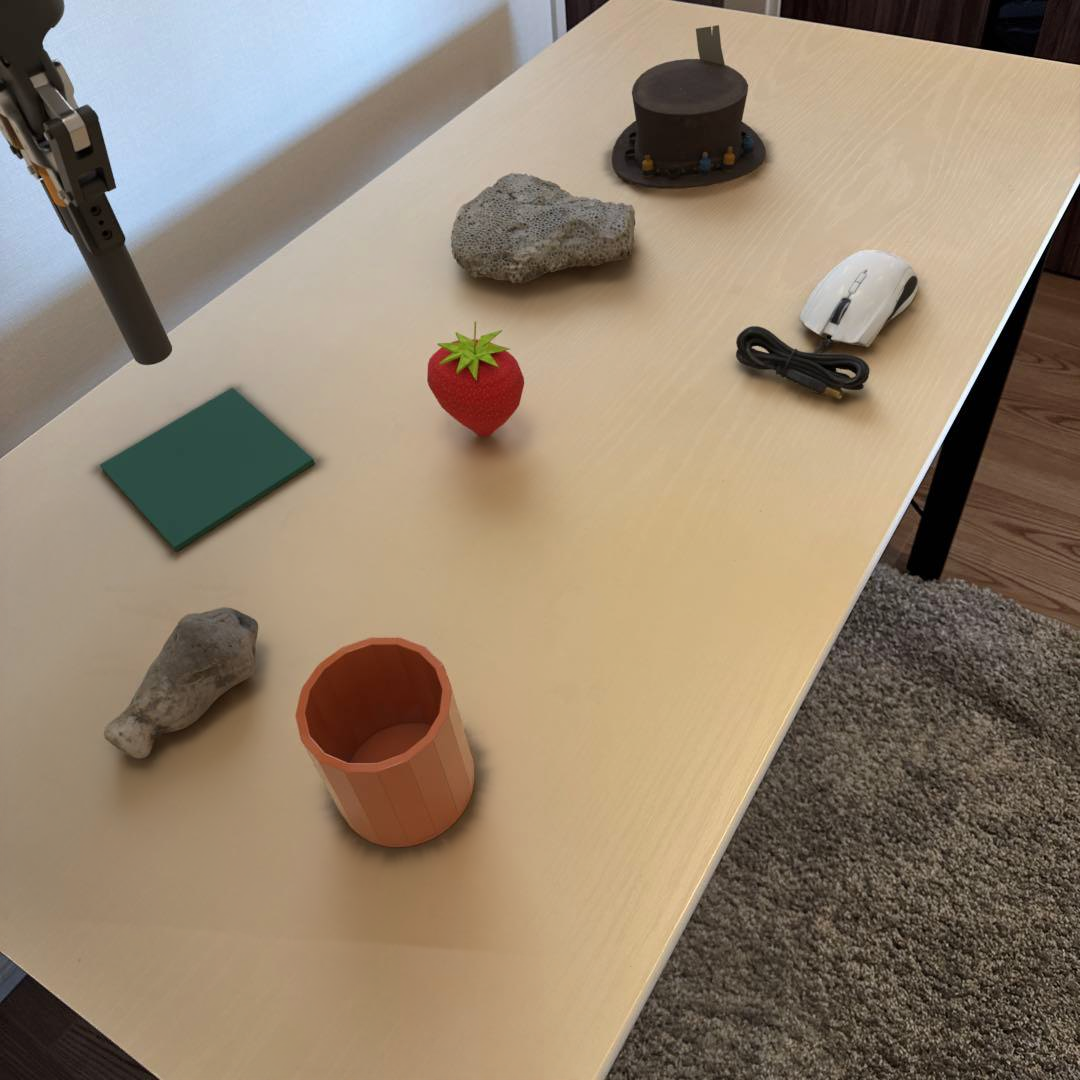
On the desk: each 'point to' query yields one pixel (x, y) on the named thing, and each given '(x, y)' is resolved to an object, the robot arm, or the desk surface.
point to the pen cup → (387, 740)
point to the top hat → (689, 124)
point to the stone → (187, 677)
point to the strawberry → (476, 382)
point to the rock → (537, 230)
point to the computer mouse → (837, 322)
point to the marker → (121, 293)
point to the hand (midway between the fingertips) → (96, 237)
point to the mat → (205, 467)
